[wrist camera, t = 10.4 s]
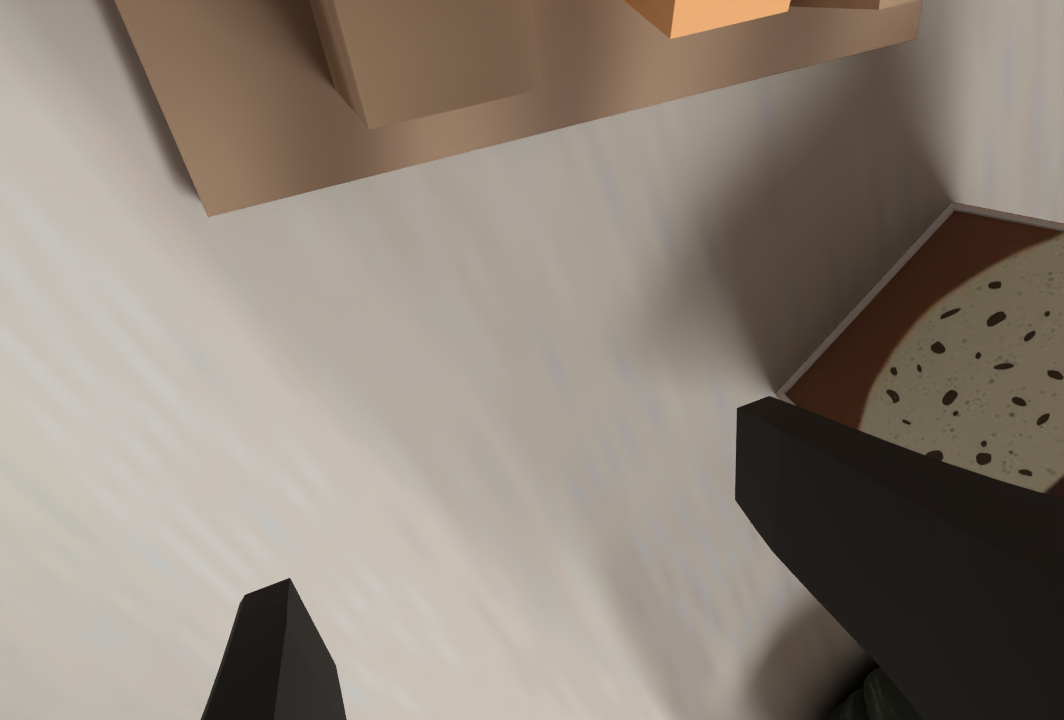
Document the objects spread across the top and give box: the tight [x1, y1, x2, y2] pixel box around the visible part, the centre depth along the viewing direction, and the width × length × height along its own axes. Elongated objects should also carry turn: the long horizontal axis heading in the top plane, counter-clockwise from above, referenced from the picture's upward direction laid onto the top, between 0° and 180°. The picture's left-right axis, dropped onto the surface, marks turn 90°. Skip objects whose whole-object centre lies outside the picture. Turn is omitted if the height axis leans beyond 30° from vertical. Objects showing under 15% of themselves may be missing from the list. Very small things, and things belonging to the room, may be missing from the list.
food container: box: [776, 202, 1064, 499], centre depth 23 cm, size 12×6×10 cm, turn 138°
